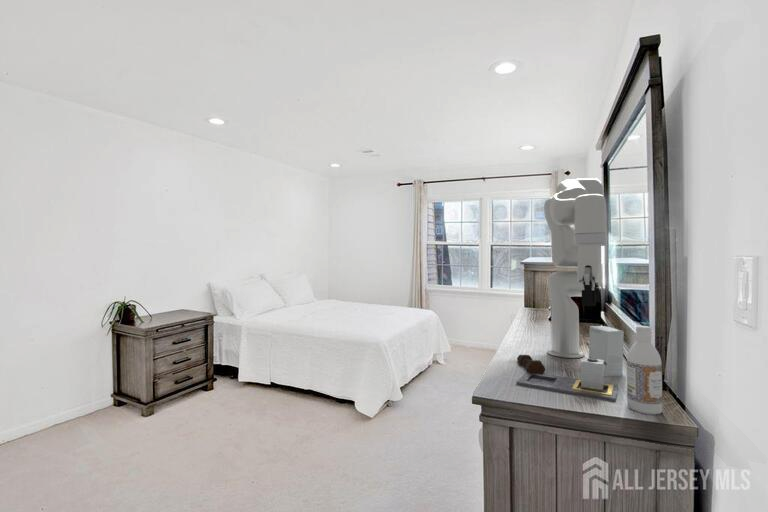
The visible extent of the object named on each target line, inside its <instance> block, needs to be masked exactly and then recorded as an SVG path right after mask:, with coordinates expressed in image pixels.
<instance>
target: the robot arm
mask: <svg viewBox="0 0 768 512" xmlns="http://www.w3.org/2000/svg"><path fill="white" fill-rule="evenodd" d="M606 202H607V201H606V198H605V196H604V186H603V183H602V181H600V180H599V179H598V178H594V177H593V178H592V177H591V178H576V179H575V178H573V179H565V180H564V181H563V180H562V181H561V182H560V183H559V184H558V185H557V187H556V189H555V194H554V195H552V197H550V198H549V197H548V199H546V200H545V202H544V205H543V210H544V217H545V220H546V222H547V224H548V227H549V231H550V241H551V243H550V244H551V261H552V264H553V265H554V266H555V267H556V268H566V269H568V268H570V269H571V268H573V269H574V268H576V269H577V270H576V271H575V270H562V271H559V270H557V271H554V272H552V273H550V275H549V276H548V279H547V283H548V290H549V295H550V296H549V297H550V316H551V317H550V318H551V319H550V320H551V322H550V323H551V329H550V330H551V347H549V348H548V349H547V351H546V353H547V354H549V355H550V356H554V357H558V358H564V359H565V358H566V359H577V358H578V359H579V358H583V357H584V356H585V352H584V351H582V350H580V324H579V323H580V318H579V317H580V314H579V313H580V312H579V306H578V305H577V303H576V302H575V301H574V300H573V299H572V298H573V297H581V305H582V306H583V307H596V306H597V304H598V303H599V302H600V291H601V290H600V289H601V284H600V283H601V275H602V247H605V246H606V247H607V217H606V216H607V206H606V205H607V204H606ZM573 226H574V227H573ZM571 297H572V298H571Z"/></svg>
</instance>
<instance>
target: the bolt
mask: <svg viewBox="0 0 768 512" xmlns="http://www.w3.org/2000/svg"><path fill="white" fill-rule="evenodd" d="M516 361H517V363H518V365H519V366H523V367H524V368H525V371H526V372H527V371H528V372H534V373H541V374H545V372H546V368H545V365H544V364H543V363H542V361H541V360H540V359H539V360H536V359H535V360H534V359H533V358H532V357H531V355H529V354H519V355H518V357H517V359H516Z"/></svg>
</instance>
